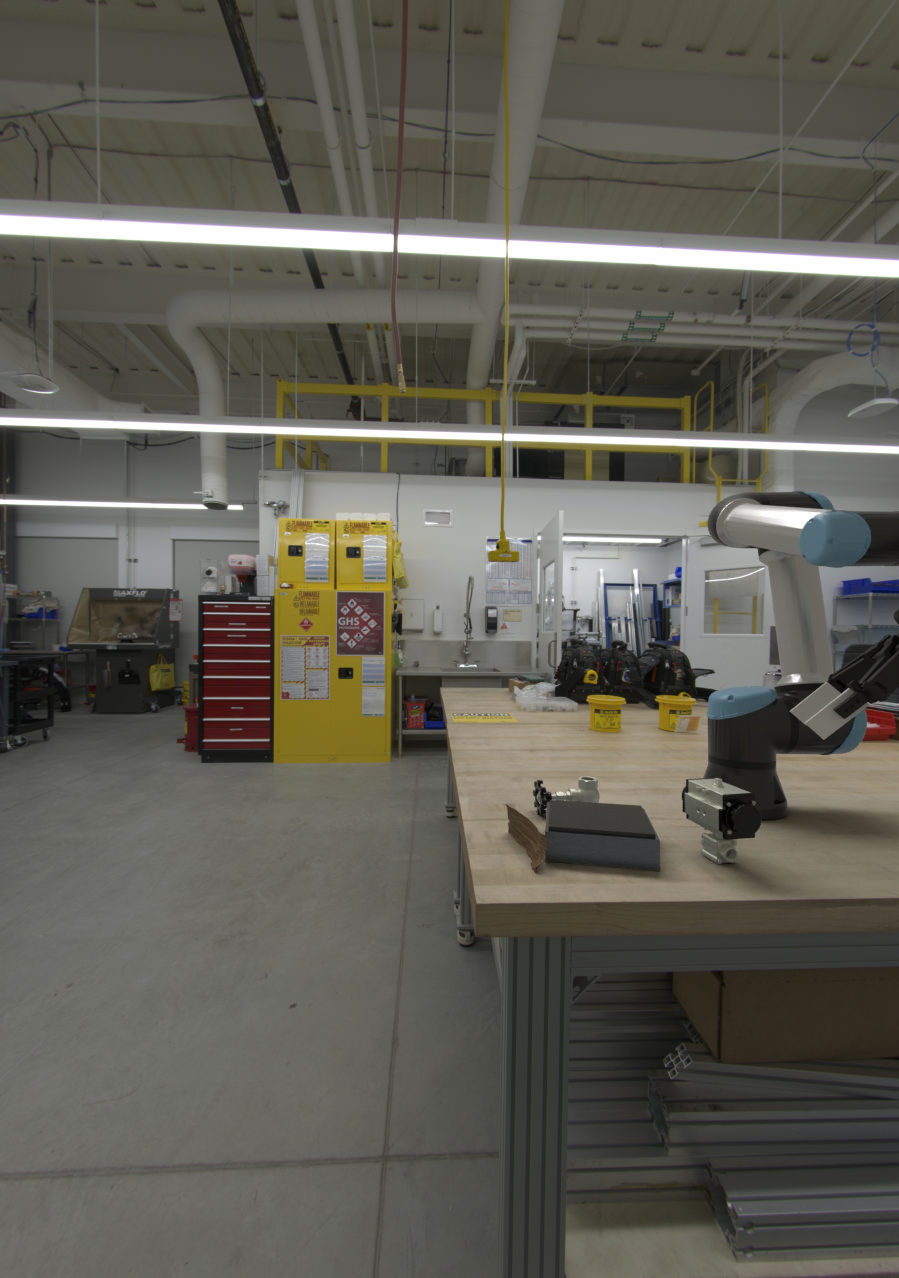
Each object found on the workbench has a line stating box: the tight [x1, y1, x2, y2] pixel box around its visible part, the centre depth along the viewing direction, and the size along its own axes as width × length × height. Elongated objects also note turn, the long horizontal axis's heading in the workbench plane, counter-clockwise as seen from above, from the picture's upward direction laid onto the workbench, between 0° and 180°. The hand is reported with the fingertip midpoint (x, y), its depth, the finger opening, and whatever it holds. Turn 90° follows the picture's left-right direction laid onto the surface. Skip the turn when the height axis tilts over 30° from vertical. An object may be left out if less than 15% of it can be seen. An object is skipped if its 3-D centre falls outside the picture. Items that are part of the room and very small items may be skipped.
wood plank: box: [505, 804, 547, 873], centre depth 79 cm, size 15×2×5 cm, turn 13°
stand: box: [544, 800, 661, 872], centre depth 81 cm, size 16×14×5 cm
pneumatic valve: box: [681, 777, 762, 865], centre depth 76 cm, size 6×12×12 cm, turn 10°
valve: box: [532, 775, 601, 816], centre depth 97 cm, size 7×7×12 cm
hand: (804, 724), depth 71 cm, fingers open, 13 cm apart
